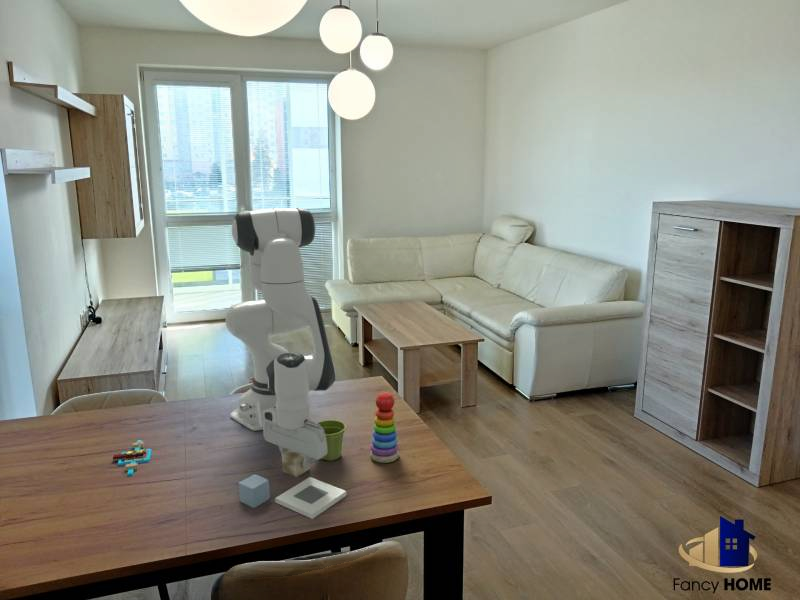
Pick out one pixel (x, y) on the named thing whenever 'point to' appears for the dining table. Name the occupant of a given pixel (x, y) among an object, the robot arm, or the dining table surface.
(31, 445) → the dining table surface
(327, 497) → the plate
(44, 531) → the dining table surface
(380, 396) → the stacking toy
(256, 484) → the slate blue block
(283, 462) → the maple block
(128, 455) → the gear mechanism
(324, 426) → the plant pot
